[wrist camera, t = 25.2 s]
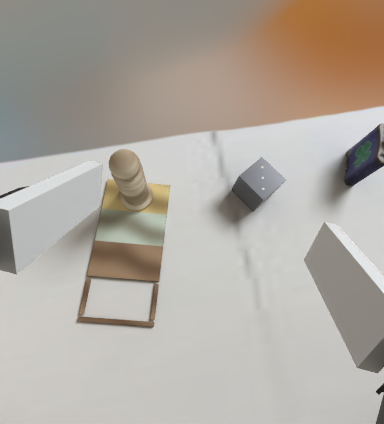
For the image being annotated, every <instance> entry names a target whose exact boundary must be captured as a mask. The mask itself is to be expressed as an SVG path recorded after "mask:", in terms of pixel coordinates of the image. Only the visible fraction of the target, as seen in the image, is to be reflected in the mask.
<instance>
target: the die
mask: <svg viewBox="0 0 384 424" xmlns="http://www.w3.org/2000/svg"><path fill="white" fill-rule="evenodd" d="M285 181H286V179H285V178H284V177H283V176H282V175H281V174H279V173H278V172H277V171H276V170H275V169H274V168H273V167H272V166H271V165H270V164H269V163H268V162H267V161H266V160H264V159H263V158H262V157H261V158H260V159H259V160H258V161H257V162H255V163H254V164H253V165H252V166H251V167H249V168H248V169H247V170H246V171H244V172H243V173H242V174H241V175H240V176H239V177H238V179H237V181H236V183H235V184H234V186H233V188H232V191H233V192H234V193H235V194H236V195H237V196H238V197H239V198H240V199H241V200H242V201H243V202H244V203H245V204H246V205H247V206H248V207H249V208H250V209H251V210H252V211H254V210H255V209H256V208H257V207H259V206H260V205H261V204H262V203H263V202H264V201H265V200H266V199H267V198H269V197H270V196H271V195H272V194H273V193H274V192H275V191H276V190H277V189H278V188H279V187H280V186H281V185H282V184H283V183H284V182H285Z"/></svg>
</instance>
